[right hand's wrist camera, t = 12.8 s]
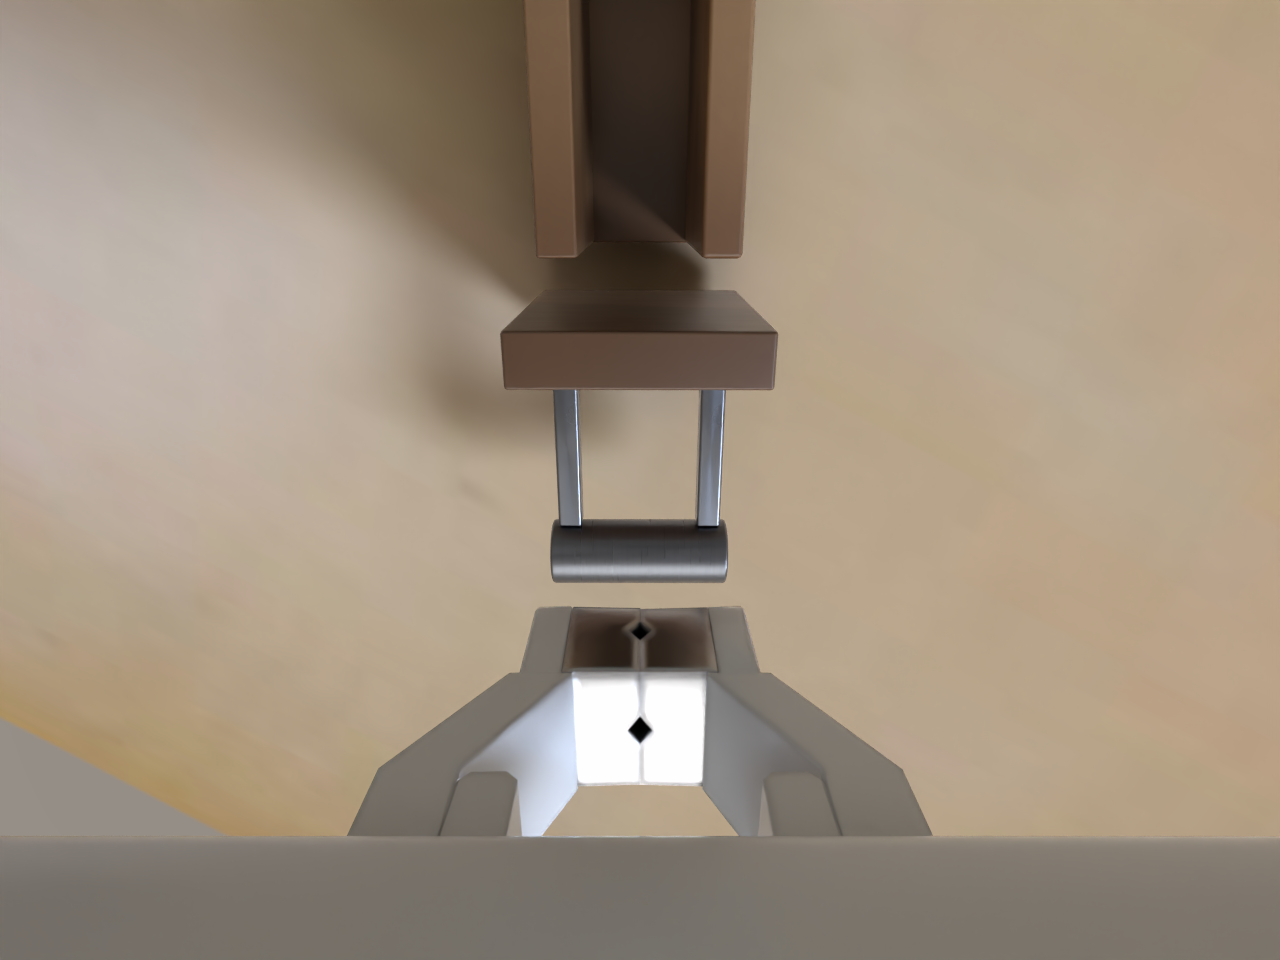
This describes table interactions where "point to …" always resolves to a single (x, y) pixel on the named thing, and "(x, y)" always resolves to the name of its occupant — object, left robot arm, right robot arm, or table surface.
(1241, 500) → the table surface
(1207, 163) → the table surface
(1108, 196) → the table surface
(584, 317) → the drawer
